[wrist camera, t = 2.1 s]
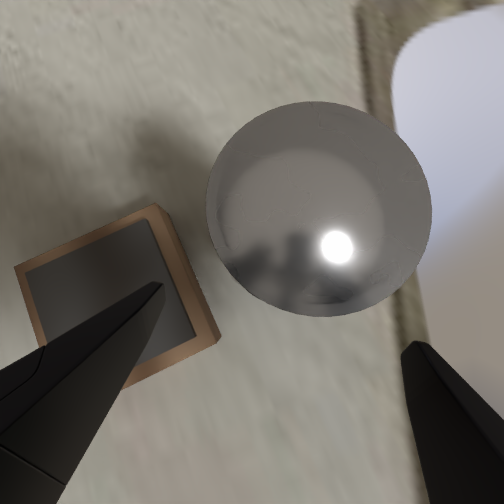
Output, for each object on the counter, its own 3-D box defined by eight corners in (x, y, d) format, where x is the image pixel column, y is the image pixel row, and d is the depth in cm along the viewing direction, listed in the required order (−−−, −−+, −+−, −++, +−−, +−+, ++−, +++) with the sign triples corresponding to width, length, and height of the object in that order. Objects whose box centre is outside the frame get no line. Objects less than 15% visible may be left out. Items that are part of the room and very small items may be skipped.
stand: (88, 401, 18) (55, 423, 15) (44, 269, 20) (6, 266, 17) (221, 336, 19) (215, 345, 16) (168, 213, 20) (152, 200, 17)
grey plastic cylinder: (257, 317, 19) (260, 376, 6) (221, 240, 20) (157, 149, 7) (333, 279, 19) (493, 258, 6) (294, 206, 20) (363, 58, 7)
